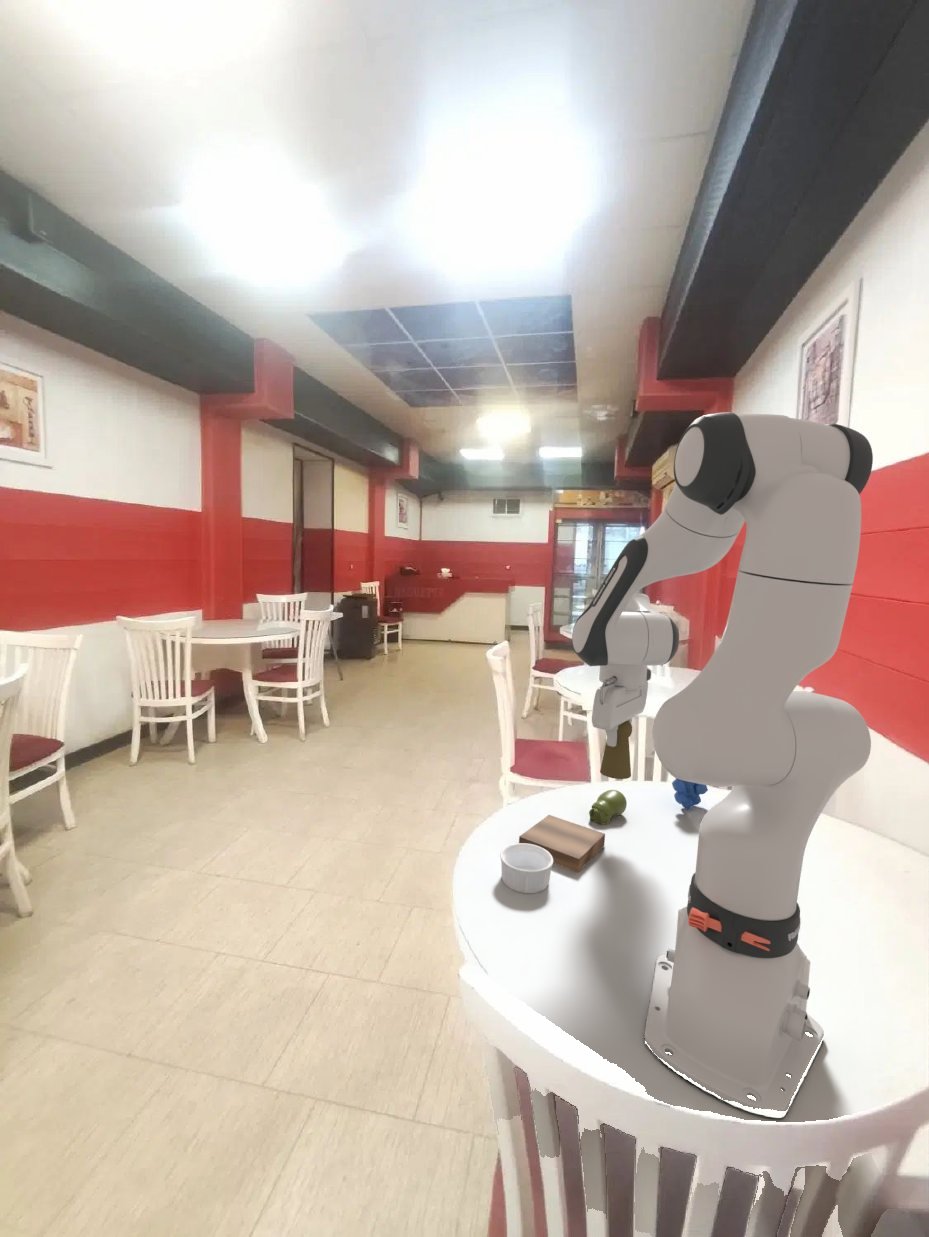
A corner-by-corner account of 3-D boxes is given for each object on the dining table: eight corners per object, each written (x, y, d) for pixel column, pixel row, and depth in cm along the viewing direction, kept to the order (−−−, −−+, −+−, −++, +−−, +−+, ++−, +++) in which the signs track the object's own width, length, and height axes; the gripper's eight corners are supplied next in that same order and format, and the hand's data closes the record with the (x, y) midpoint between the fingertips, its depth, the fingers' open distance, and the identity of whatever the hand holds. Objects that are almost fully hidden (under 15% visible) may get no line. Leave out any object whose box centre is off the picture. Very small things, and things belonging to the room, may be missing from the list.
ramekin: (560, 893, 88) (562, 867, 88) (509, 899, 86) (511, 873, 85) (538, 864, 97) (540, 840, 96) (491, 869, 94) (493, 845, 94)
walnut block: (578, 872, 94) (579, 859, 94) (518, 849, 101) (519, 836, 101) (604, 846, 104) (605, 833, 104) (548, 826, 111) (548, 814, 111)
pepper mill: (628, 769, 111) (632, 717, 110) (633, 780, 105) (637, 725, 104) (598, 766, 112) (602, 714, 111) (601, 777, 106) (605, 722, 105)
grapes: (690, 822, 116) (695, 768, 115) (662, 810, 121) (667, 758, 120) (719, 810, 123) (724, 759, 122) (691, 799, 128) (696, 750, 127)
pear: (631, 791, 117) (604, 810, 111) (631, 813, 118) (605, 833, 112) (609, 782, 121) (582, 800, 115) (609, 804, 122) (583, 823, 116)
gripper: (619, 683, 97) (613, 759, 98) (654, 670, 113) (649, 734, 114) (585, 678, 100) (581, 750, 101) (624, 666, 117) (620, 728, 118)
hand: (617, 742), depth 108 cm, fingers closed on pepper mill, 4 cm apart
